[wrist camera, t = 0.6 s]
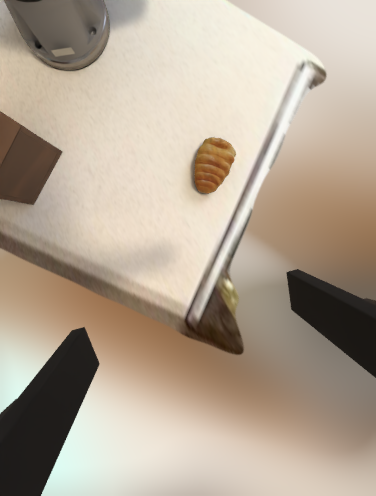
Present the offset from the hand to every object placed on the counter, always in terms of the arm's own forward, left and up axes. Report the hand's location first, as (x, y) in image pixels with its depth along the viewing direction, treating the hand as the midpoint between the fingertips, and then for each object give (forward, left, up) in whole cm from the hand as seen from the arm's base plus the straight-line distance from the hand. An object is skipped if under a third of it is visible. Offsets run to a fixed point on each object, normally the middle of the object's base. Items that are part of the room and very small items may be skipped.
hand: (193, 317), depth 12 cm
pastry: (-16, +9, -26) cm, 32 cm away
